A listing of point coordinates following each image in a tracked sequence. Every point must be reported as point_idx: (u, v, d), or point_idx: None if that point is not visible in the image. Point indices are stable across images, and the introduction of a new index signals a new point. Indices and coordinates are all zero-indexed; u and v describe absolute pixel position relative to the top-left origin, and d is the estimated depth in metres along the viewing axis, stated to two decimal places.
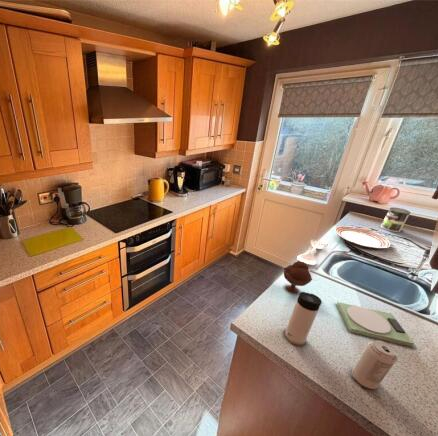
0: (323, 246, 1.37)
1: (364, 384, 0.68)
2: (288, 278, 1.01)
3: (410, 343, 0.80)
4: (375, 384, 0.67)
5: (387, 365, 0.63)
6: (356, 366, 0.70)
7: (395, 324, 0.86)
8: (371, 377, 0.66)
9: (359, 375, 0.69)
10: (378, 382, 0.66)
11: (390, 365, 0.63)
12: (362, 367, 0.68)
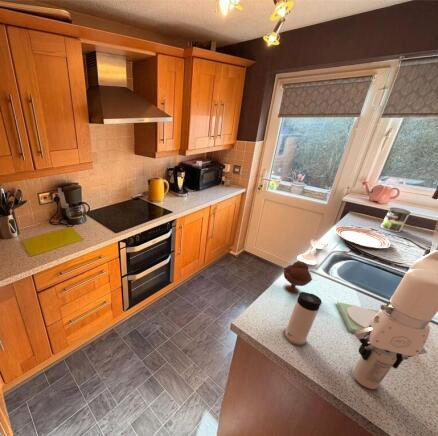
0: (323, 246, 1.37)
1: (364, 384, 0.68)
2: (288, 278, 1.01)
3: None
4: (375, 384, 0.67)
5: (387, 365, 0.63)
6: (356, 366, 0.70)
7: None
8: (371, 377, 0.66)
9: (359, 375, 0.69)
10: (378, 382, 0.66)
11: (390, 365, 0.63)
12: (362, 367, 0.68)
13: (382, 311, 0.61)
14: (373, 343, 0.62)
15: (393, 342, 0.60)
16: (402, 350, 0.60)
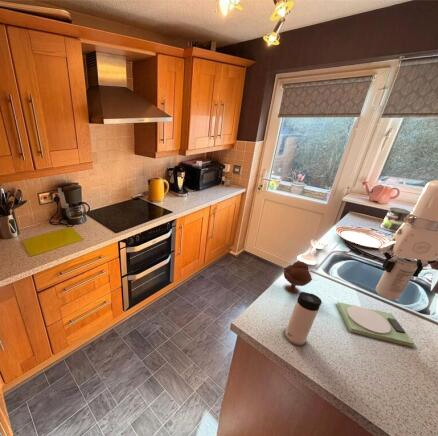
0: (323, 246, 1.37)
1: (387, 295, 0.77)
2: (288, 278, 1.01)
3: (410, 343, 0.80)
4: (397, 294, 0.76)
5: (409, 273, 0.72)
6: (380, 282, 0.79)
7: (395, 324, 0.86)
8: (394, 288, 0.75)
9: (383, 289, 0.78)
10: (400, 292, 0.75)
11: (411, 272, 0.72)
12: (386, 280, 0.77)
13: (405, 223, 0.70)
14: (397, 253, 0.71)
15: (415, 249, 0.69)
16: (423, 256, 0.69)
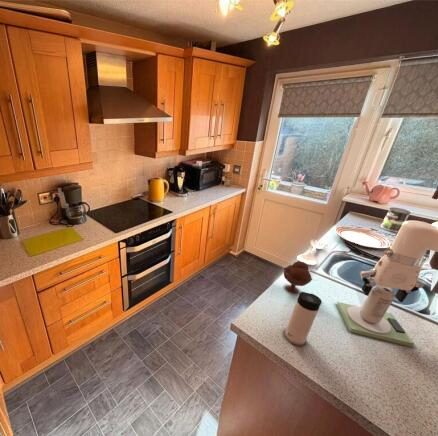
0: (323, 246, 1.37)
1: (369, 320, 0.86)
2: (288, 278, 1.01)
3: (410, 343, 0.80)
4: (378, 319, 0.84)
5: (387, 301, 0.81)
6: (363, 307, 0.88)
7: (395, 324, 0.86)
8: (374, 313, 0.84)
9: (365, 313, 0.86)
10: (380, 317, 0.84)
11: (390, 301, 0.81)
12: (367, 306, 0.85)
13: (384, 256, 0.79)
14: (377, 282, 0.80)
15: (393, 279, 0.78)
16: (400, 286, 0.78)
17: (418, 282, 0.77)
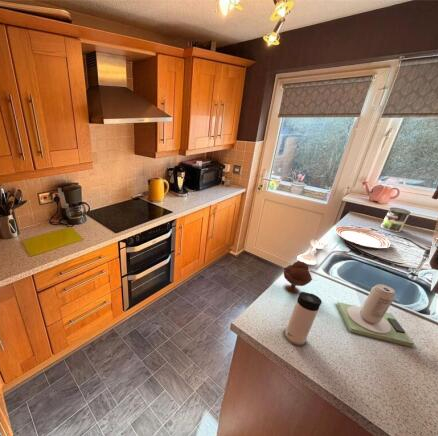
0: (323, 246, 1.37)
1: (369, 320, 0.86)
2: (288, 278, 1.01)
3: (410, 343, 0.80)
4: (378, 319, 0.84)
5: (387, 301, 0.81)
6: (363, 307, 0.88)
7: (395, 324, 0.86)
8: (374, 313, 0.84)
9: (365, 313, 0.86)
10: (380, 317, 0.84)
11: (390, 301, 0.81)
12: (367, 306, 0.85)
13: None
14: None
15: None
16: None
17: None
